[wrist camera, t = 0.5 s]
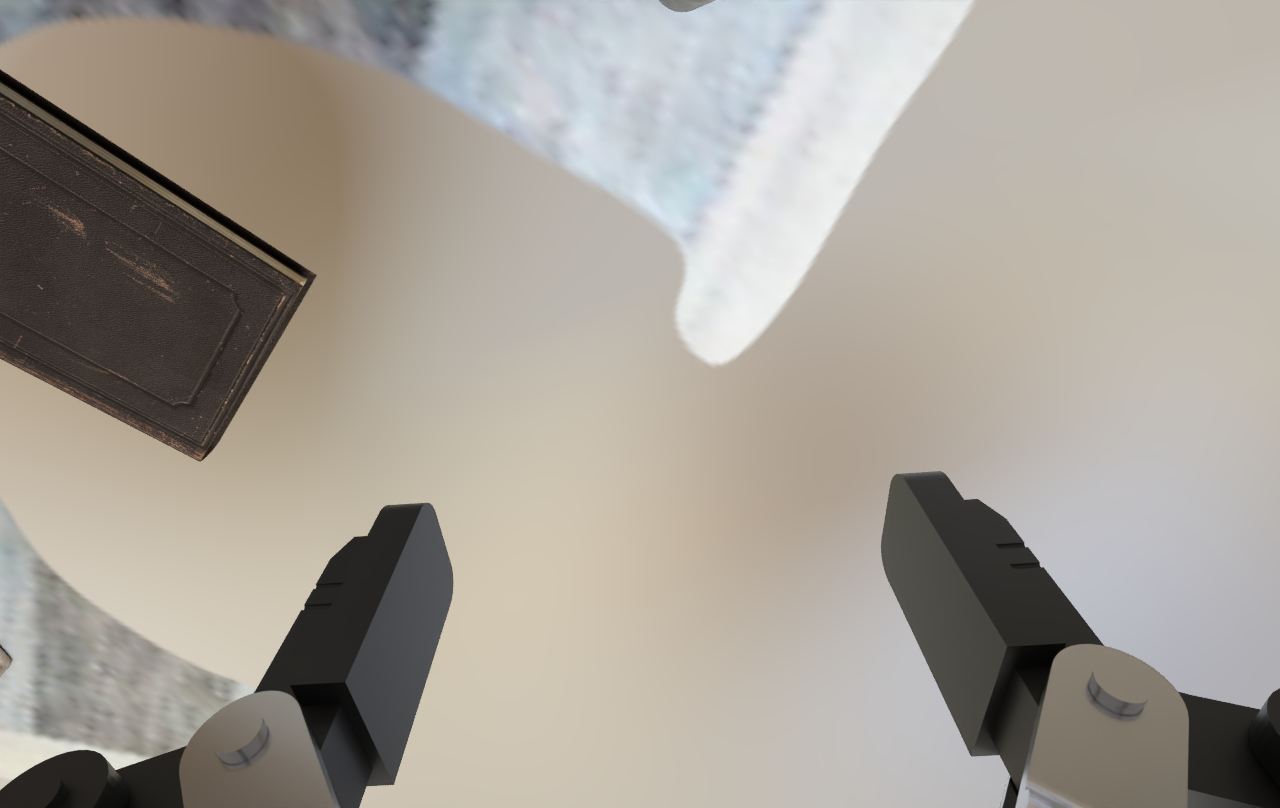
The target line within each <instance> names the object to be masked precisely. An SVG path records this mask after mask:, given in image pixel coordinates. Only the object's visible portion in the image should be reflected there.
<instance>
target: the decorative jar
mask: <svg viewBox="0 0 1280 808" xmlns="http://www.w3.org/2000/svg"><path fill="white" fill-rule="evenodd" d="M11 663H12V662H11V659H10V658H9V657H8V656H7V654H6V653H5V652H4V651H3V650H2V649H1V648H0V676H1V675H2V674H3V673H4V672H5V671H6V670H7V669H8V668H9V667H10V665H11Z"/></svg>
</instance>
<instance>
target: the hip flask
mask: <svg viewBox="0 0 1280 808" xmlns="http://www.w3.org/2000/svg"><path fill="white" fill-rule="evenodd" d="M659 1H660V2H661V3H662V4H663V5H664V6H666V7H667V8H669V9H671V10H673V11H678V12H687V11H691V10H694V9H696V8H698V7H701V6H703V5H705V4H708V3H710V2H712V1H714V0H659Z"/></svg>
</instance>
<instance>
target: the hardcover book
mask: <svg viewBox="0 0 1280 808" xmlns="http://www.w3.org/2000/svg"><path fill="white" fill-rule="evenodd" d="M316 276H317V275H316V274H314V273H313V272H311V271H310V270H308V269H307V268H305V267H303V266H302V265H300V264H299V263H297V262H296V261H294V260H292V259H291V258H289V257H288V256H287V255H285V254H284V253H282V252H280V251H279V250H277V249H276V248H274V247H273V246H271V245H270V244H268V243H267V242H265V241H264V240H262V239H260V238H259V237H257V236H256V235H254V234H253V233H251V232H250V231H248V230H247V229H245V228H243V227H242V226H240V225H239V224H237V223H236V222H234V221H233V220H231V219H230V218H228V217H227V216H225V215H223V214H222V213H220V212H219V211H217V210H216V209H214V208H213V207H211V206H210V205H208V204H206V203H205V202H204V201H202V200H200V199H199V198H197V197H196V196H194V195H193V194H191V193H190V192H188V191H187V190H185V189H183V188H182V187H180V186H179V185H177V184H176V183H174V182H173V181H171V180H170V179H168V178H167V177H165V176H164V175H162V174H160V173H159V172H157V171H156V170H154V169H153V168H151V167H150V166H148V165H147V164H145V163H143V162H142V161H140V160H139V159H137V158H136V157H134V156H133V155H131V154H130V153H128V152H127V151H125V150H124V149H122V148H120V147H119V146H117V145H116V144H114V143H113V142H111V141H110V140H108V139H107V138H105V137H104V136H102V135H101V134H99V133H97V132H96V131H94V130H93V129H91V128H90V127H88V126H87V125H85V124H84V123H82V122H81V121H79V120H77V119H76V118H74V117H73V116H71V115H70V114H68V113H67V112H65V111H63V110H62V109H61V108H59V107H57V106H56V105H54V104H53V103H51V102H50V101H48V100H46V99H45V98H44V97H42V96H40V95H39V94H37V93H36V92H34V91H33V90H31V89H30V88H28V87H27V86H25V85H24V84H22V83H21V82H19V81H17V80H16V79H14V78H13V77H11V76H10V75H8V74H7V73H5V72H4V71H2V70H1V69H0V359H2V360H4V361H6V362H8V363H10V364H12V365H14V366H16V367H18V368H19V369H22V370H23V371H25V372H27V373H29V374H31V375H33V376H35V377H37V378H39V379H41V380H43V381H45V382H47V383H49V384H51V385H53V386H54V387H56V388H58V389H60V390H62V391H64V392H66V393H68V394H70V395H72V396H74V397H76V398H77V399H80V400H81V401H83V402H85V403H87V404H89V405H91V406H93V407H95V408H97V409H99V410H101V411H103V412H105V413H107V414H108V415H110V416H112V417H114V418H117V419H118V420H120V421H122V422H124V423H126V424H128V425H130V426H132V427H134V428H136V429H137V430H139V431H141V432H143V433H145V434H147V435H149V436H151V437H153V438H155V439H157V440H159V441H161V442H163V443H165V444H167V445H168V446H171V447H172V448H174V449H176V450H178V451H180V452H182V453H184V454H186V455H188V456H190V457H192V458H194V459H196V460H197V461H202V460H203V459H204V458H205V457H207V455H208V454H209V453H210V452H211V451H212V450H213V449H214V448H215V446H216V445H217V444H218V443H219V441H220V440H221V438H222V436H223V434H224V433H225V431H226V429H227V428H228V426H229V424H230V423H231V421H232V419H233V417H234V416H235V414H236V412H237V411H238V409H239V407H240V405H241V404H242V402H243V400H244V399H245V397H246V395H247V394H248V392H249V390H250V389H251V387H252V385H253V383H254V382H255V380H256V378H257V377H258V375H259V373H260V372H261V370H262V368H263V366H264V364H265V363H266V361H267V360H268V358H269V356H270V354H271V353H272V351H273V349H274V348H275V346H276V344H277V343H278V341H279V339H280V338H281V336H282V334H283V332H284V331H285V329H286V327H287V326H288V324H289V322H290V321H291V319H292V317H293V315H294V314H295V312H296V310H297V309H298V307H299V305H300V304H301V302H302V300H303V298H304V297H305V295H306V293H307V292H308V290H309V288H310V286H311V285H312V283H313V281H314V280H315V278H316Z"/></svg>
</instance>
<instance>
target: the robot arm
mask: <svg viewBox="0 0 1280 808" xmlns="http://www.w3.org/2000/svg"><path fill="white" fill-rule="evenodd" d="M881 553H882V561H883V566H884V570H885V573H886V576H887V578H888V581H889V583H890V585H891V587H892V589H893V591H894V593H895V596H896V597H897V600H898V602H899V604H900V606H901V608H902V610H903V613H904V615H905V617H906V619H907V621H908V623H909V625H910V627H911V629H912V632H913V634H914V636H915V638H916V640H917V642H918V644H919V647H920V649H921V651H922V653H923V655H924V657H925V659H926V661H927V664H928V666H929V668H930V670H931V672H932V674H933V676H934V678H935V680H936V682H937V684H938V687H939V689H940V691H941V693H942V695H943V698H944V700H945V702H946V704H947V706H948V708H949V710H950V712H951V714H952V717H953V719H954V721H955V723H956V725H957V727H958V729H959V731H960V734H961V736H962V738H963V740H964V742H965V744H966V746H967V749H968V751H969V753H970V755H971V756H989V755H1000V757H1001V759H1002V761H1003V762H1004V764H1005V766H1006V768H1007V770H1008V772H1009V776H1008V779H1007V781H1006V784H1005V788H1004V792H1003V796H1002V800H1001V804H1000V808H1280V689H1278V690H1276V691H1275V692H1273V693H1272V694H1271V696H1270V697H1269V698H1268V700H1267V701H1266V702H1265V704H1264V705H1263V707H1262V709H1261V710H1260V709H1255V708H1250V707H1245V706H1241V705H1235V704H1231V703H1226V702H1221V701H1216V700H1212V699H1207V698H1202V697H1197V696H1192V695H1188V694H1185V693H1181V692H1178V691H1177V690H1176V689H1175V688H1174V686H1173V685H1172V684H1171V683H1170V682H1169V681H1168V680H1167V679H1166V678H1165V677H1164V676H1163V675H1161V674H1160V673H1159V672H1158V671H1156V670H1155V669H1154V668H1152V667H1151V666H1149V665H1148V664H1146V663H1145V662H1143V661H1141V660H1140V659H1138V658H1136V657H1134V656H1132V655H1129V654H1127V653H1125V652H1123V651H1120V650H1117V649H1113V648H1111V647H1106V646H1104V645H1103V644H1102V643H1101V641H1100V640H1099V639H1098V637H1097V636H1096V635H1095V633H1094V632H1093V631H1092V630H1091V628H1090V627H1089V626H1088V624H1087V623H1086V622H1085V620H1084V619H1083V618H1082V617H1081V615H1080V614H1079V613H1078V611H1077V610H1076V609H1075V608H1074V606H1073V605H1072V604H1071V602H1070V601H1069V600H1068V599H1067V597H1066V596H1065V595H1064V593H1063V592H1062V591H1061V589H1060V588H1059V587H1058V586H1057V584H1056V583H1055V582H1054V580H1053V579H1052V578H1051V576H1050V575H1049V574H1048V573H1047V571H1046V570H1045V569H1044V568H1041V567H1040V565H1039V563H1040V562H1039V561H1038V560H1037V558H1036V557H1035V556H1034V554H1033V553H1032V552H1031V551H1030V549H1029V548H1028V547H1025V546H1024V542H1023V540H1022V539H1021V538H1020V536H1019V535H1018V534H1017V532H1016V531H1015V530H1014V529H1013V527H1012V526H1011V525H1010V523H1009V522H1008V521H1007V519H1005V518H1004V517H1003V516H1001V515H1000V514H998V513H997V512H995V511H994V510H993V509H991V508H990V507H988V506H987V505H985V504H984V503H983V502H981V501H980V500H978V499H972V500H964V499H963V498H962V496H961V495H960V493H959V492H958V491H957V489H956V488H955V486H954V485H953V484H952V482H951V481H950V480H949V478H948V477H947V476H946V474H944V473H943V472H940V471H939V472H938V471H937V472H922V473H908V474H907V473H906V474H896V475H895V476H894V477H893V478H892V481H891V485H890V490H889V497H888V503H887V509H886V515H885V522H884V528H883V534H882V542H881ZM452 594H453V572H452V566H451V563H450V559H449V556H448V552H447V549H446V546H445V542H444V539H443V536H442V532H441V529H440V526H439V522H438V519H437V516H436V512H435V510H434V508H433V506H432V505H431V504H430V503H417V504H402V505H387V506H385V507H383V509H381V511H380V513H379V515H378V517H377V518H376V520H375V522H374V525H373V526H372V528H371V530H370V532H369V534H368V536H362V537H354V538H353V539H352V540H351V541H350V542H348V543H347V544H346V545H345V546H344V547H343V548H342V549H341V550H340V551H339V552H338V553H337V554H335V555H334V556H333V557H332V558H331V559H330V561H329V562H328V564H327V566H326V568H325V569H324V571H323V573H322V575H321V577H320V578H319V580H318V582H317V584H316V589H313V591H312V592H311V594H310V596H309V598H308V599H307V601H306V603H305V609H304V610H301V612H300V614H299V615H298V617H297V619H296V621H295V622H294V624H293V626H292V627H291V629H290V631H289V633H288V635H287V636H286V638H285V640H284V642H283V643H282V645H281V647H280V649H279V650H278V652H277V654H276V656H275V657H274V659H273V661H272V663H271V665H270V666H269V668H268V670H267V672H266V673H265V675H264V677H263V679H262V680H261V682H260V684H259V686H258V687H257V689H256V691H255V692H254V693H253V694H250V695H248V696H245V697H242V698H240V699H238V700H236V701H234V702H232V703H230V704H229V705H227V706H225V707H224V708H222V709H221V710H219V711H218V712H217V713H215V714H214V715H213V716H212V717H211V718H209V719H208V720H207V721H206V722H205V723H204V724H203V725H202V726H201V727H200V728H199V729H198V730H197V732H196V733H195V734H194V736H193V737H192V738H191V740H190V741H189V743H188V745H187V746H185V747H182V748H180V749H177V750H174V751H171V752H168V753H165V754H162V755H159V756H156V757H153V758H150V759H147V760H144V761H141V762H138V763H135V764H132V765H130V766H127V767H124V768H121V769H118V770H115V769H114V768H113V767H112V766H111V765H110V763H109V762H108V761H107V760H106V759H105V758H104V757H103V756H102V755H101V754H100V753H97V752H95V751H90V750H77V751H71V752H67V753H63V754H60V755H57V756H55V757H52V758H50V759H47V760H45V761H43V762H41V763H39V764H37V765H35V766H34V767H32V768H30V769H29V770H27V771H25V772H24V773H22V774H21V775H19V776H18V777H16V778H15V779H14V780H12V781H11V782H10V783H9V784H7V785H6V786H5V787H4V788H2V789H1V790H0V808H359V806H360V803H361V800H362V797H363V795H364V792H365V789H366V786H377V785H394V782H395V779H396V776H397V772H398V769H399V766H400V763H401V760H402V757H403V753H404V750H405V747H406V744H407V741H408V737H409V734H410V731H411V728H412V725H413V721H414V718H415V715H416V712H417V709H418V706H419V702H420V699H421V696H422V693H423V689H424V687H425V683H426V680H427V677H428V674H429V671H430V667H431V664H432V661H433V658H434V655H435V651H436V648H437V645H438V642H439V639H440V635H441V632H442V629H443V626H444V623H445V620H446V617H447V613H448V610H449V607H450V603H451V600H452Z"/></svg>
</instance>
